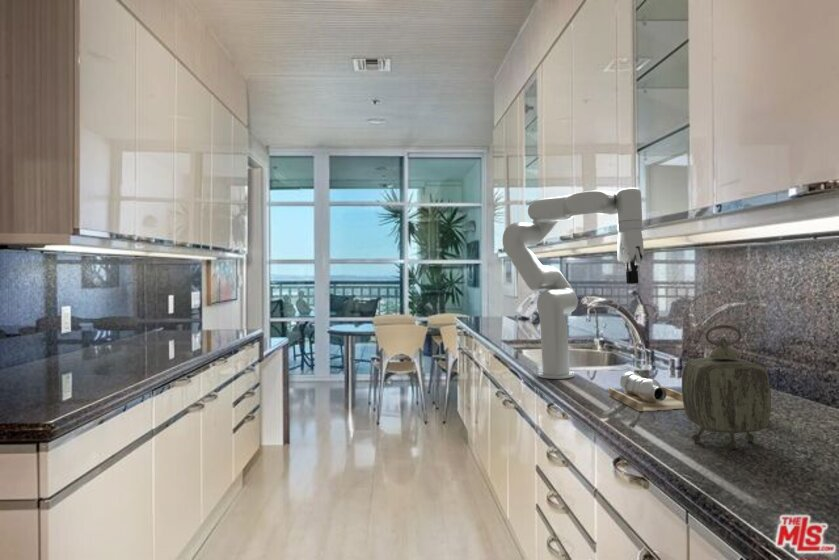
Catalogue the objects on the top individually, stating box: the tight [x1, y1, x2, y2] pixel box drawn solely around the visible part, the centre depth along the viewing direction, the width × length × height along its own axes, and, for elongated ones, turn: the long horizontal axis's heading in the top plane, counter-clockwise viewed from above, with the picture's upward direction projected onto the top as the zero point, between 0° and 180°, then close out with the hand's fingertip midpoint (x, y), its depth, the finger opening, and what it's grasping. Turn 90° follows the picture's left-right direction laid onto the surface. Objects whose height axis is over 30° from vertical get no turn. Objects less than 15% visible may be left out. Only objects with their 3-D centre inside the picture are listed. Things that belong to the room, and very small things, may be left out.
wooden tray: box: [608, 384, 685, 412], centre depth 150 cm, size 20×16×2 cm
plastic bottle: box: [619, 371, 667, 403], centre depth 152 cm, size 6×7×20 cm
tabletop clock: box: [681, 324, 772, 450], centre depth 110 cm, size 14×9×25 cm, turn 83°
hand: (632, 283), depth 172 cm, fingers closed
